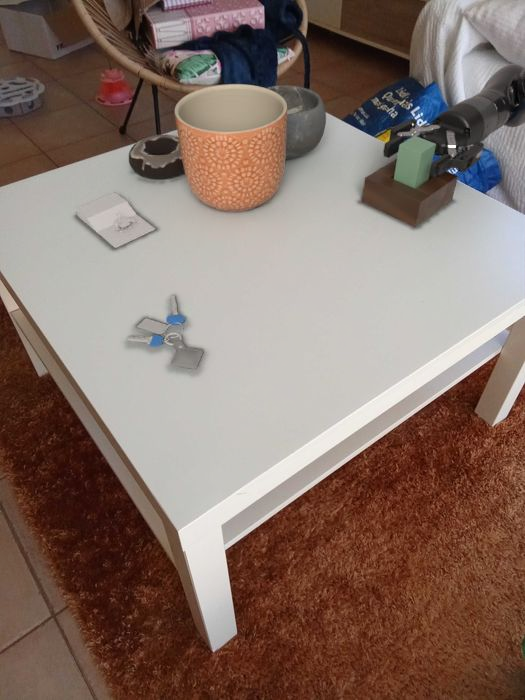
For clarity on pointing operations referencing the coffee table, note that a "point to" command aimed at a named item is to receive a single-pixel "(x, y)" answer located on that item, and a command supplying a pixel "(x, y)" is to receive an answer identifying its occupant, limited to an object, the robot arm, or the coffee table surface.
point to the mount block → (407, 194)
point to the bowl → (302, 119)
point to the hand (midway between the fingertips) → (408, 160)
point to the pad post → (414, 161)
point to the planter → (233, 144)
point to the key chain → (184, 354)
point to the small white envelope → (114, 219)
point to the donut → (157, 157)
